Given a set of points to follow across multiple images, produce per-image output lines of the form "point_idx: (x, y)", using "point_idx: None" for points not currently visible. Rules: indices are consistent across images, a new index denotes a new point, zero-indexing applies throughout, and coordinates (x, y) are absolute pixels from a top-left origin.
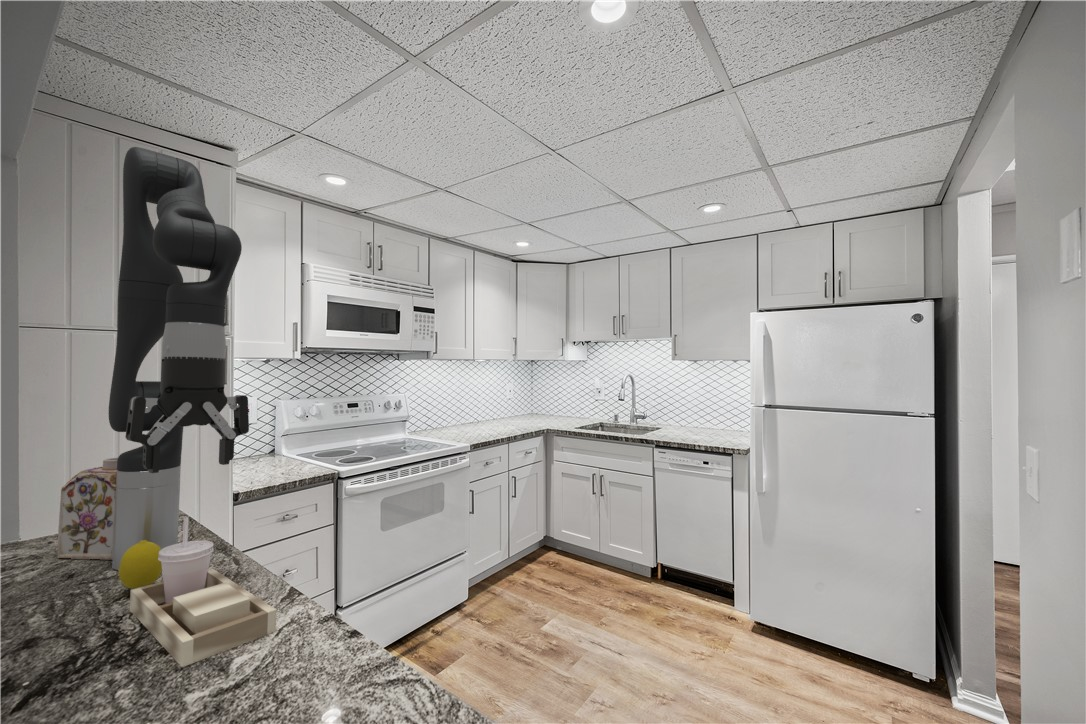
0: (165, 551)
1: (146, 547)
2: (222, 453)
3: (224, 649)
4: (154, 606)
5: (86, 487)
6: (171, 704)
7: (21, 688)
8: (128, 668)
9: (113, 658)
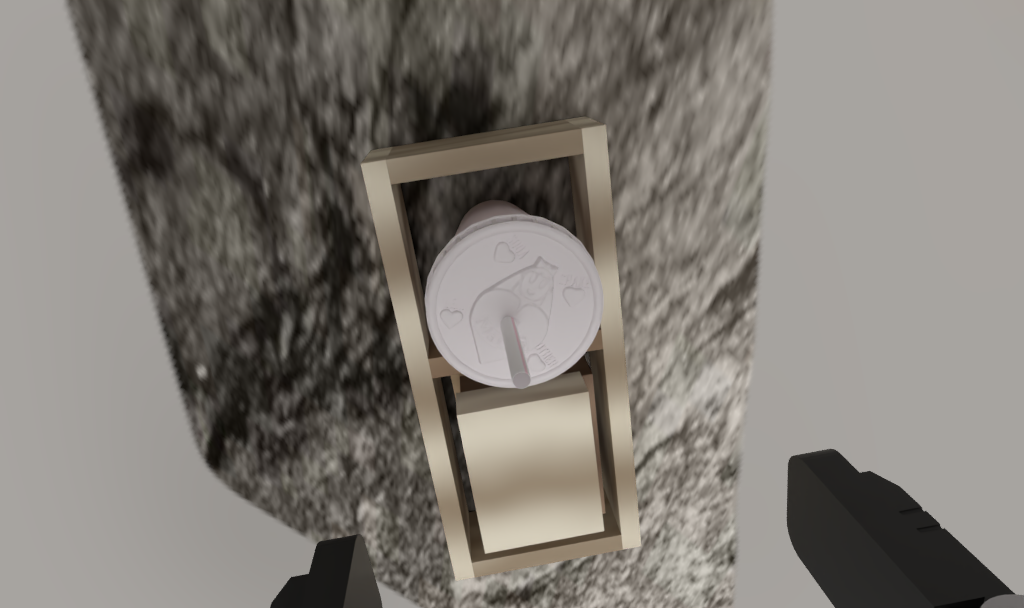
0: (446, 317)
1: None
2: (837, 570)
3: None
4: (418, 356)
5: None
6: (433, 588)
7: (198, 388)
8: (374, 432)
9: (346, 369)
